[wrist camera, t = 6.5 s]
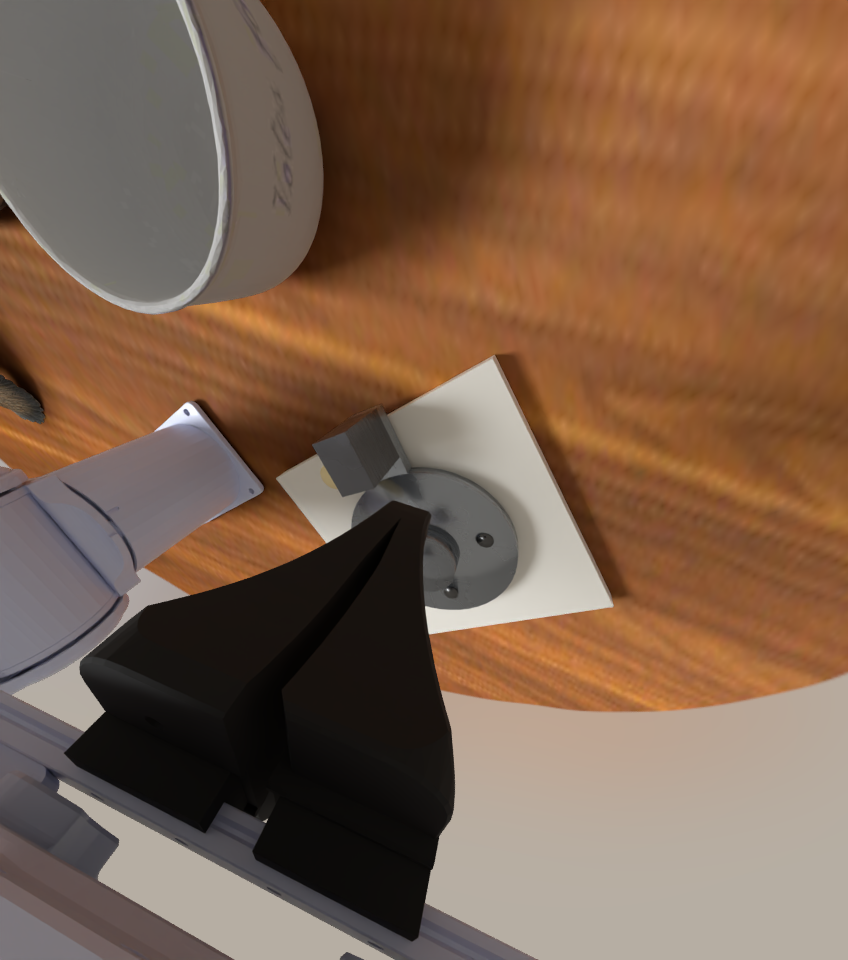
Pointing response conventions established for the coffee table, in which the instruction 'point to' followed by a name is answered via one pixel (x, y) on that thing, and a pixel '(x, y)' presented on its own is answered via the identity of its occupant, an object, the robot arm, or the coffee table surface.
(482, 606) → the base plate
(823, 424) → the coffee table surface
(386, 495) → the flange plate
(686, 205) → the coffee table surface
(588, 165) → the coffee table surface
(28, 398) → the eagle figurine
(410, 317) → the coffee table surface
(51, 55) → the teacup
